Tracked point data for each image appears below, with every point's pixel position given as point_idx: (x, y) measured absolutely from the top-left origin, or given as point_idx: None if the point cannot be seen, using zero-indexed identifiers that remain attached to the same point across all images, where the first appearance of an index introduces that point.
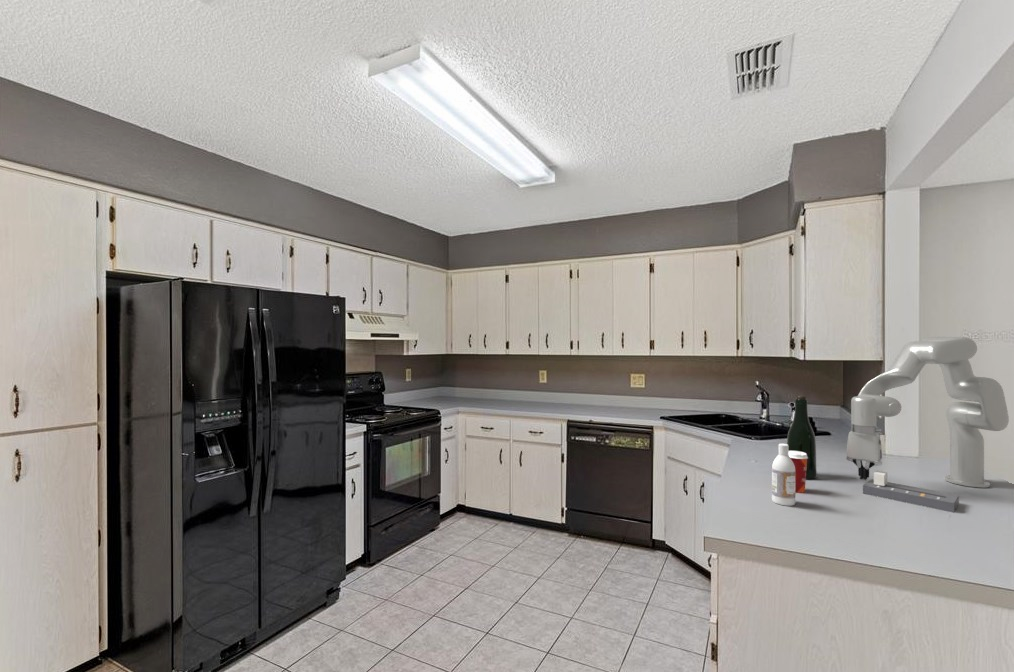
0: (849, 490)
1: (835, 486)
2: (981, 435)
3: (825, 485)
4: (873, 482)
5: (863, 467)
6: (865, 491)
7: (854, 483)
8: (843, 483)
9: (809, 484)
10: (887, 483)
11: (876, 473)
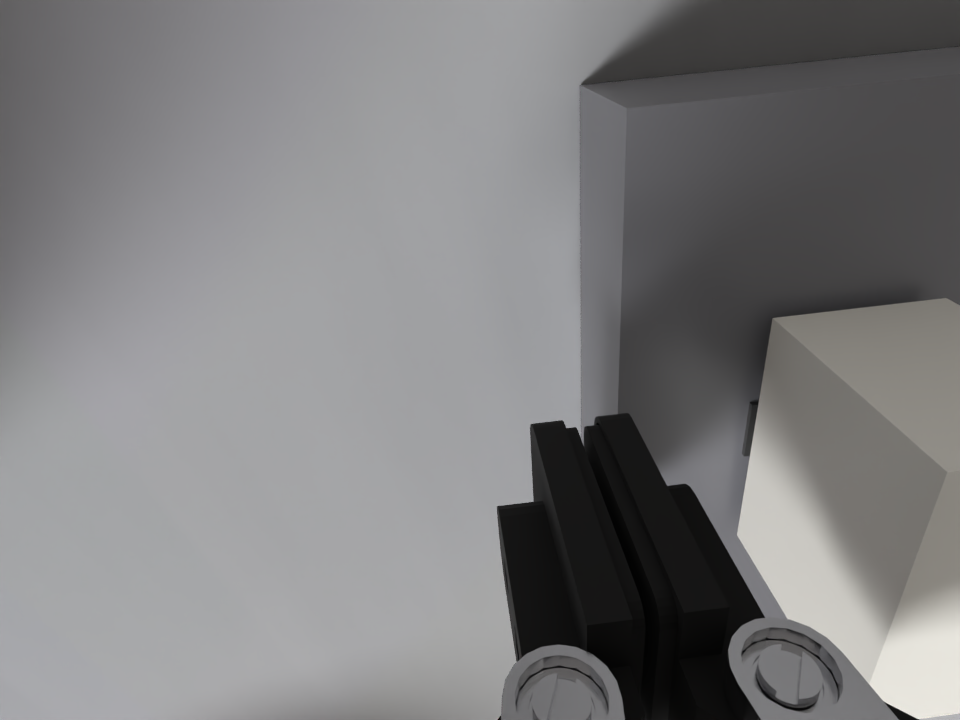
0: (432, 556)
1: (242, 537)
2: None
3: (151, 592)
4: (709, 382)
5: (629, 663)
6: None
7: (292, 103)
8: (195, 291)
9: (40, 689)
10: (942, 231)
11: (904, 709)
